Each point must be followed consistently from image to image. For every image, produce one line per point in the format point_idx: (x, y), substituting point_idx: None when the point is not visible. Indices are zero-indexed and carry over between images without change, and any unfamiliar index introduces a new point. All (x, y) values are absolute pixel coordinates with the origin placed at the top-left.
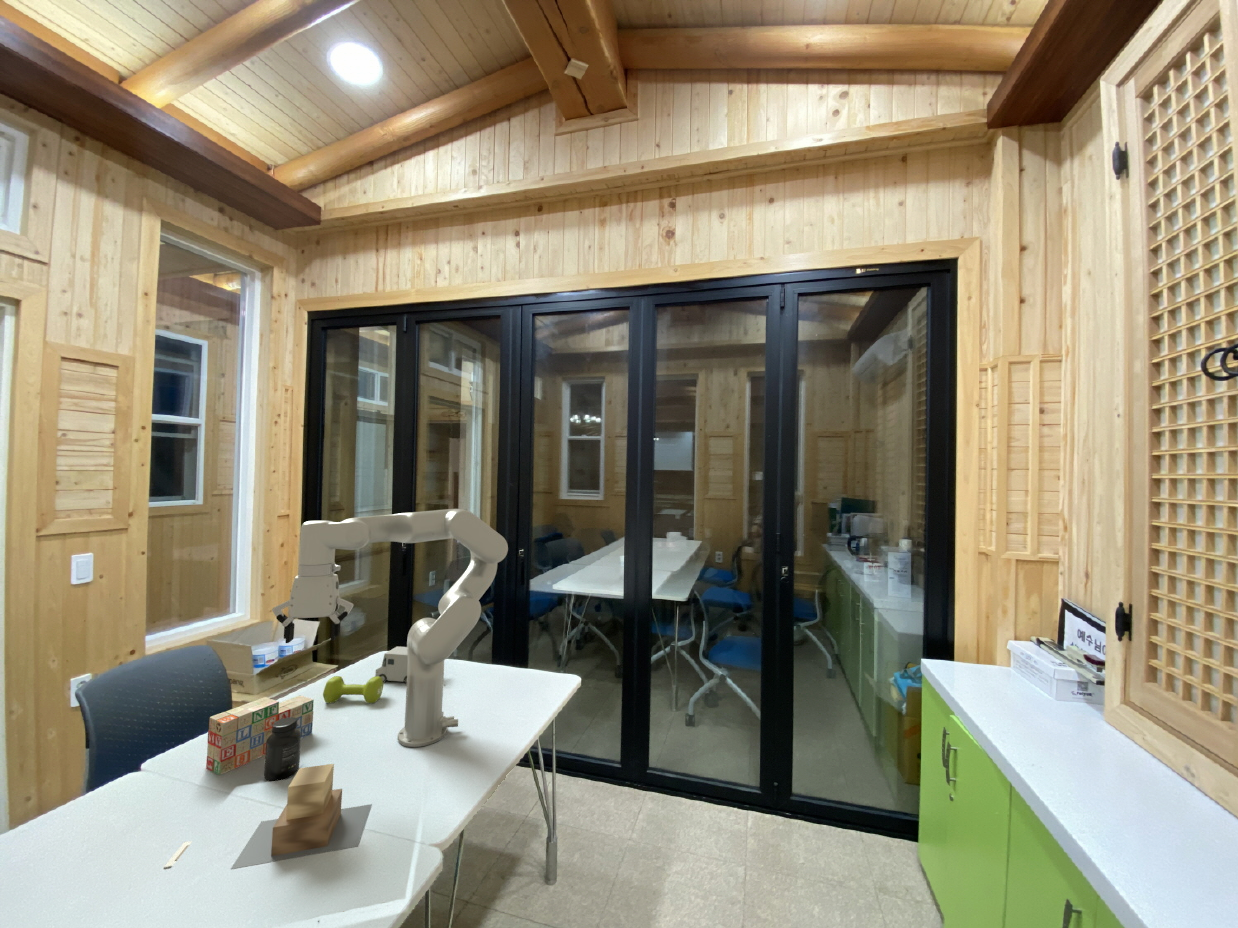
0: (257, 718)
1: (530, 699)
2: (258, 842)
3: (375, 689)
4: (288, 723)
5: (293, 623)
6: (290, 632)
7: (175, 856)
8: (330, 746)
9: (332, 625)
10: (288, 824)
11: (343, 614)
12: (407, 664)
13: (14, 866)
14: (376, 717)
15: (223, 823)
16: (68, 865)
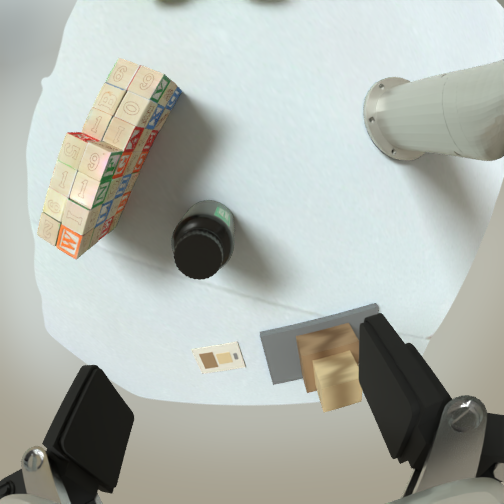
0: (102, 194)
1: (495, 54)
2: (278, 360)
3: None
4: (211, 264)
5: (59, 449)
6: (113, 449)
7: (200, 364)
8: (247, 138)
9: (398, 456)
10: None
11: (491, 471)
12: None
13: (77, 355)
14: (286, 35)
15: (208, 324)
16: (115, 361)
